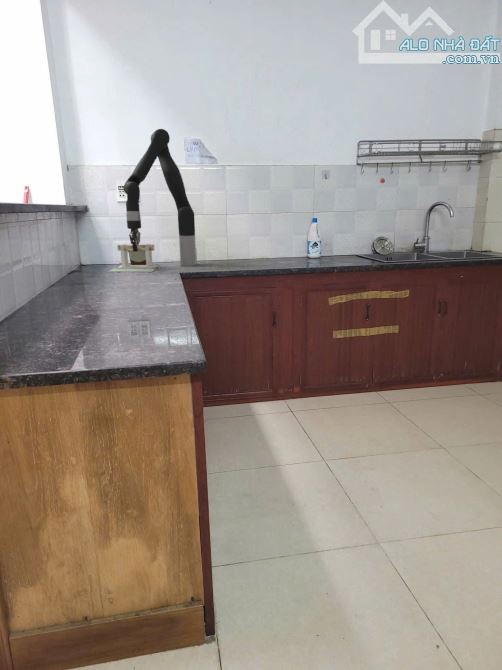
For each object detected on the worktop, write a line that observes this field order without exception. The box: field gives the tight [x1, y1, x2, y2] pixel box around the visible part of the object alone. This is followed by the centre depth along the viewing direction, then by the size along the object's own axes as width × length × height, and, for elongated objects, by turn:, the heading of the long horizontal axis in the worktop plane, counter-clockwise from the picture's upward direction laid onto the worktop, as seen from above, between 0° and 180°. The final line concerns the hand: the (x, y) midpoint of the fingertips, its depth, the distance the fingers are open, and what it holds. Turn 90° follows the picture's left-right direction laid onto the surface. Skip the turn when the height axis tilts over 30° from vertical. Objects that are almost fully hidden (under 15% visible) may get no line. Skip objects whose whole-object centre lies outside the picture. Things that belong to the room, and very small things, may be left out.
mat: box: [107, 268, 156, 273], centre depth 259 cm, size 24×8×1 cm, turn 87°
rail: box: [117, 244, 155, 252], centre depth 265 cm, size 20×3×3 cm, turn 87°
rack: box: [117, 243, 157, 269], centre depth 266 cm, size 20×7×13 cm, turn 87°
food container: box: [127, 251, 146, 265], centre depth 278 cm, size 12×6×10 cm, turn 84°
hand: (136, 251), depth 266 cm, fingers closed on rail, 3 cm apart
